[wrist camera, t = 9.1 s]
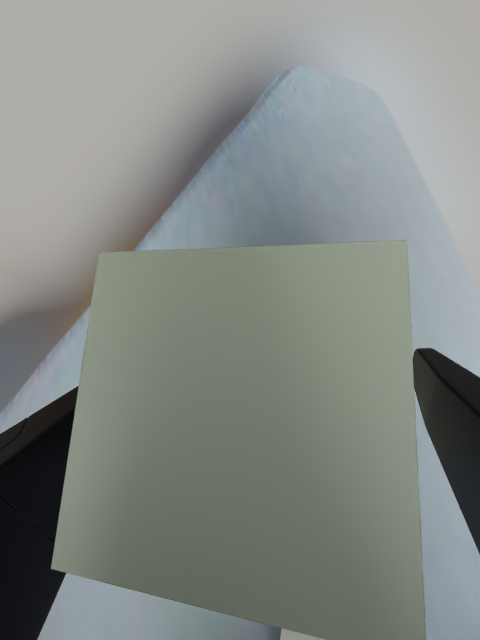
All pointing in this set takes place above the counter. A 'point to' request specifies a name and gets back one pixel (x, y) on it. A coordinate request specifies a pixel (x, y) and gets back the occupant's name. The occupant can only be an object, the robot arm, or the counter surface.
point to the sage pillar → (252, 437)
